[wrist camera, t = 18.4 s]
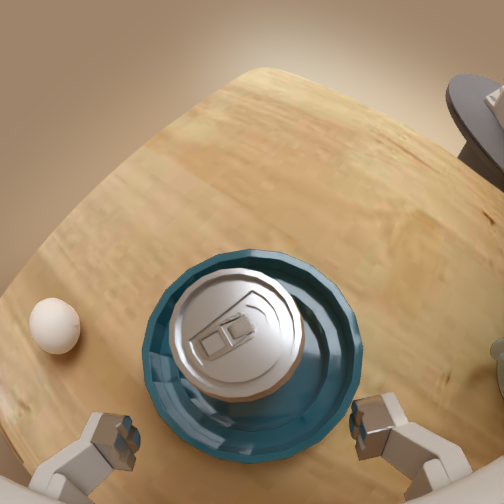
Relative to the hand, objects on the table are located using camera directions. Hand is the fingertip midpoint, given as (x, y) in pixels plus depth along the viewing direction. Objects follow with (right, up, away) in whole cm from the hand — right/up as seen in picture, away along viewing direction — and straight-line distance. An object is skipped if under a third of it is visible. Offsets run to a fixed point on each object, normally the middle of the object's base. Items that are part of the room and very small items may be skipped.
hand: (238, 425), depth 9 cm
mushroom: (-16, -2, +15) cm, 22 cm away
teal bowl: (+1, -2, +13) cm, 13 cm away
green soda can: (+1, -2, +12) cm, 13 cm away
